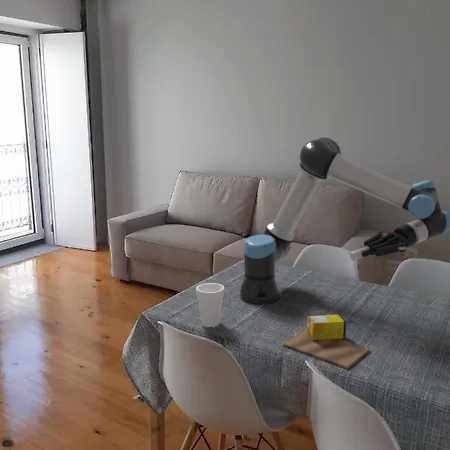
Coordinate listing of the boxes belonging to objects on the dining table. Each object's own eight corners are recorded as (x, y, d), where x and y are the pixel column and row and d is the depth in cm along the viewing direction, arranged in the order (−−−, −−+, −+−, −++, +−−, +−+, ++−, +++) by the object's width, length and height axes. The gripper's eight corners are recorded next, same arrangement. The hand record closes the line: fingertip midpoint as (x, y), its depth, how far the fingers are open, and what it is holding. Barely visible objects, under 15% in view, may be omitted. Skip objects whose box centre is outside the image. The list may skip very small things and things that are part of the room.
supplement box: (339, 331, 165) (306, 333, 164) (339, 313, 164) (307, 315, 163) (345, 339, 160) (311, 341, 158) (346, 321, 158) (312, 323, 157)
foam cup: (228, 320, 176) (228, 284, 173) (219, 331, 168) (218, 294, 164) (202, 316, 179) (202, 281, 176) (192, 327, 171) (191, 291, 168)
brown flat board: (282, 345, 157) (282, 343, 157) (307, 330, 167) (307, 328, 167) (347, 369, 143) (347, 366, 143) (369, 351, 153) (369, 348, 153)
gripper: (423, 251, 169) (364, 274, 163) (398, 237, 181) (341, 258, 174) (423, 231, 166) (362, 254, 160) (397, 218, 177) (339, 239, 171)
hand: (351, 256), depth 167 cm, fingers closed
